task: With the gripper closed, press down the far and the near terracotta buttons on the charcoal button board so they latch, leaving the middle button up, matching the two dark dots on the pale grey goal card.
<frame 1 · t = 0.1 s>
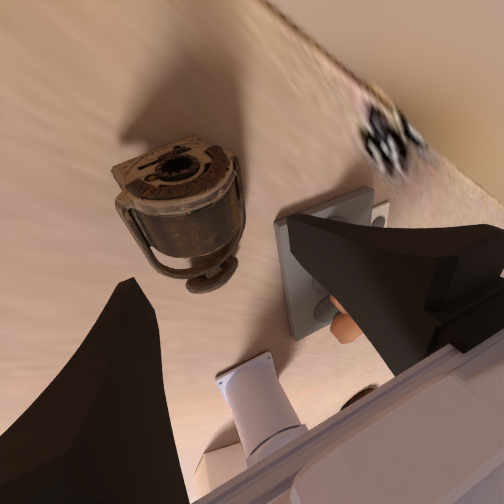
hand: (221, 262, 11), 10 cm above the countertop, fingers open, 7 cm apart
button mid: (347, 291, 27), point 4 cm above the countertop, slide at 0.0 cm
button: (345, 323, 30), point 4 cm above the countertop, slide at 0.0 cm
medicine bottle: (217, 457, 44), on the countertop
goal card: (372, 248, 32), on the countertop
bread roll: (355, 401, 59), on the countertop
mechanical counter: (184, 217, 20), on the countertop
board: (323, 270, 30), on the countertop
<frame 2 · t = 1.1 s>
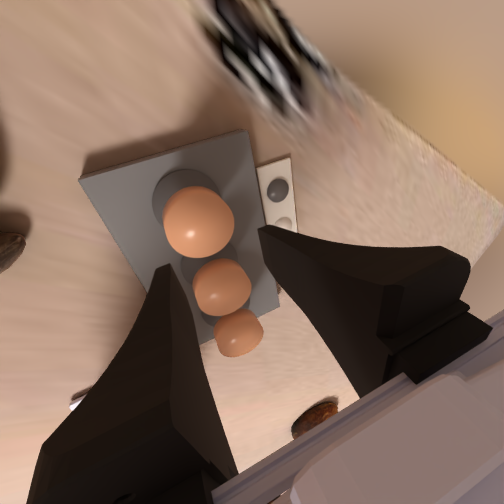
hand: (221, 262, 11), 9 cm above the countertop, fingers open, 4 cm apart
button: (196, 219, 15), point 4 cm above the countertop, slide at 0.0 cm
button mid: (220, 283, 19), point 4 cm above the countertop, slide at 0.0 cm
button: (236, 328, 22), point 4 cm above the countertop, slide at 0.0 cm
goal card: (280, 226, 23), on the countertop
bread roll: (311, 416, 51), on the countertop
board: (206, 255, 22), on the countertop
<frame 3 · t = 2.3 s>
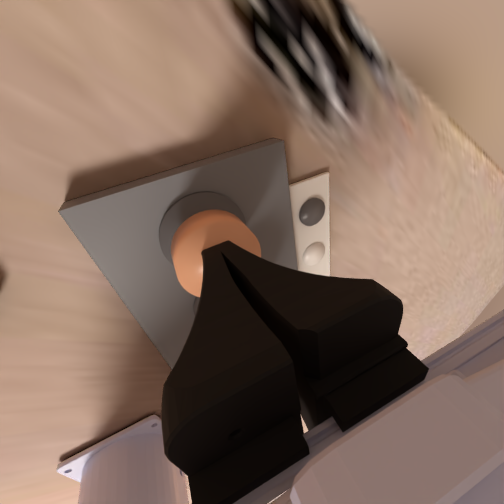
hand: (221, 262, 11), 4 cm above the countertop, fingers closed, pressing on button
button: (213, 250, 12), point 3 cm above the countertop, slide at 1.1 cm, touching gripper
goal card: (311, 252, 20), on the countertop
board: (223, 290, 18), on the countertop
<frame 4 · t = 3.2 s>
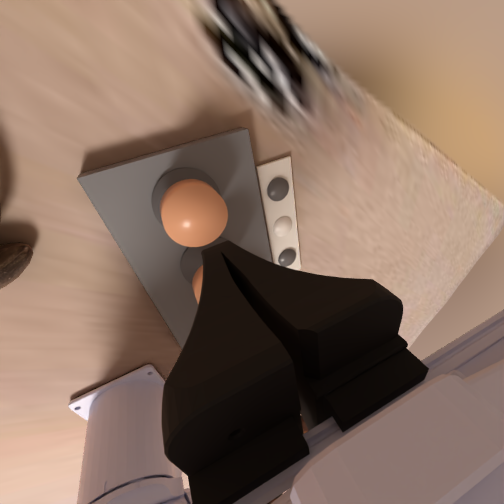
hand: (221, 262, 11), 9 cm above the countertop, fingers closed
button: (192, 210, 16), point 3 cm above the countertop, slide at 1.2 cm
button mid: (219, 282, 18), point 4 cm above the countertop, slide at 0.0 cm
goal card: (281, 225, 23), on the countertop
board: (206, 254, 22), on the countertop
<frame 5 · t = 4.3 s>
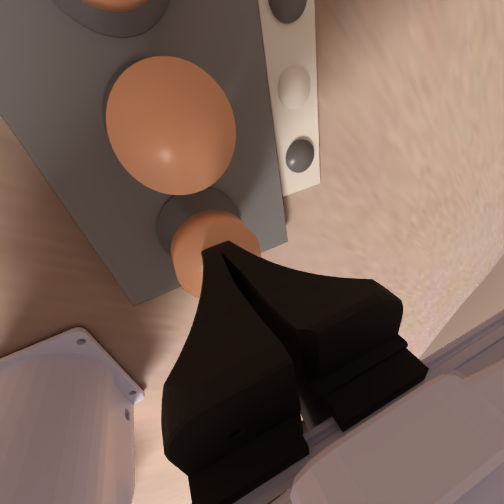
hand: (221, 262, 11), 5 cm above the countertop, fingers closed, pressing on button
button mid: (172, 130, 9), point 4 cm above the countertop, slide at 0.0 cm
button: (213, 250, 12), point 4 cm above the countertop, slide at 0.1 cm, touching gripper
goal card: (291, 88, 14), on the countertop
board: (160, 122, 12), on the countertop
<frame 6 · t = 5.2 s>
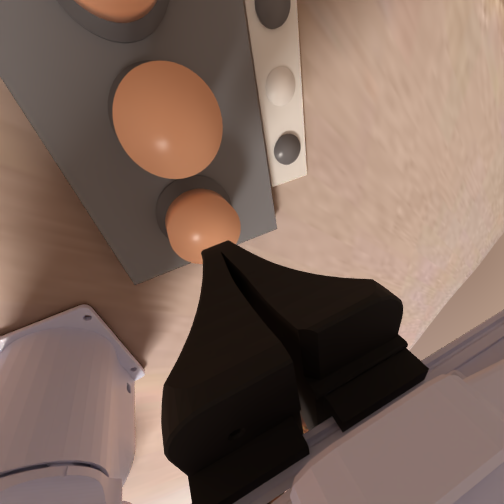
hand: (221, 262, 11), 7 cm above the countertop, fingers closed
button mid: (168, 123, 10), point 4 cm above the countertop, slide at 0.0 cm
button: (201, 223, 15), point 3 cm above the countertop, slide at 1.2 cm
goal card: (278, 87, 15), on the countertop
board: (159, 117, 14), on the countertop
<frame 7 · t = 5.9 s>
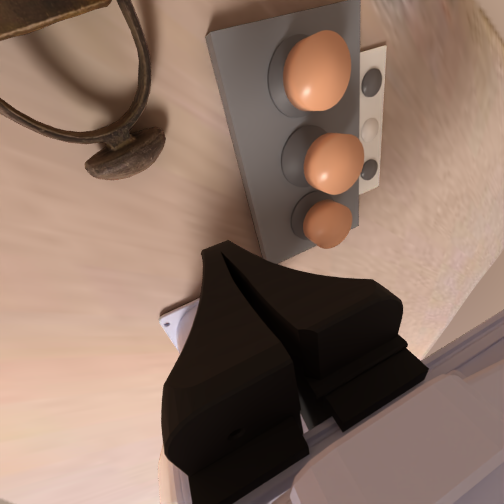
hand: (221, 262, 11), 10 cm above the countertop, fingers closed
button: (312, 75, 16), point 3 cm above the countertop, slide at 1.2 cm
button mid: (329, 163, 18), point 4 cm above the countertop, slide at 0.0 cm
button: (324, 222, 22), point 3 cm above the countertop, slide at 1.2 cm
medicine bottle: (187, 442, 35), on the countertop
goal card: (367, 130, 23), on the countertop
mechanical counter: (60, 58, 14), on the countertop
board: (298, 155, 22), on the countertop
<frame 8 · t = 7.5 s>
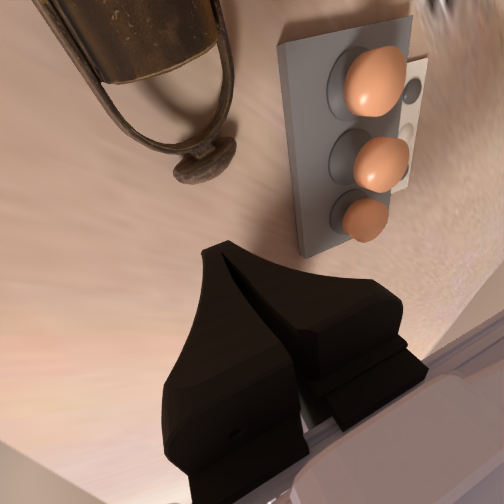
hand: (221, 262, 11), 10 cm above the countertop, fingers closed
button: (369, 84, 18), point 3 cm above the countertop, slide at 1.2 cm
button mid: (376, 163, 20), point 4 cm above the countertop, slide at 0.0 cm
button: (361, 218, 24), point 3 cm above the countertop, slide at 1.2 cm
goal card: (402, 134, 25), on the countertop
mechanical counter: (155, 79, 16), on the countertop
board: (341, 155, 23), on the countertop
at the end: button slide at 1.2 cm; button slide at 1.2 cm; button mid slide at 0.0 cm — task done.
